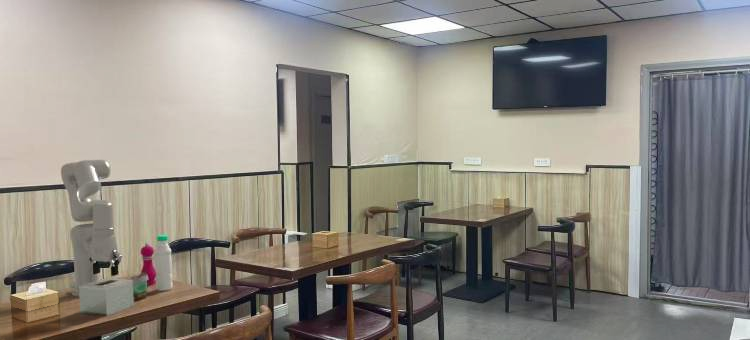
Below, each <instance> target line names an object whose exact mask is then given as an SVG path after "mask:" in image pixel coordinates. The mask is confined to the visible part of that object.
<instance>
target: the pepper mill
mask: <svg viewBox="0 0 750 340" xmlns="http://www.w3.org/2000/svg"><path fill="white" fill-rule="evenodd" d="M154 249H155V248H153V246H151V245H150V243H149V242H146V243H144V246H143V247H142V248H140V255H141V261H142V268H141V270H140V273H139V274H140V275H141V273H146V274H147V275H148V278H149V279H148V280H147V287H148V285H149V286H154V285H156V284H157V281H156V268H155V267H154V263H153V259H154V254H155V250H154ZM140 275H139V276H140ZM153 284H154V285H153Z"/></svg>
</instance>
